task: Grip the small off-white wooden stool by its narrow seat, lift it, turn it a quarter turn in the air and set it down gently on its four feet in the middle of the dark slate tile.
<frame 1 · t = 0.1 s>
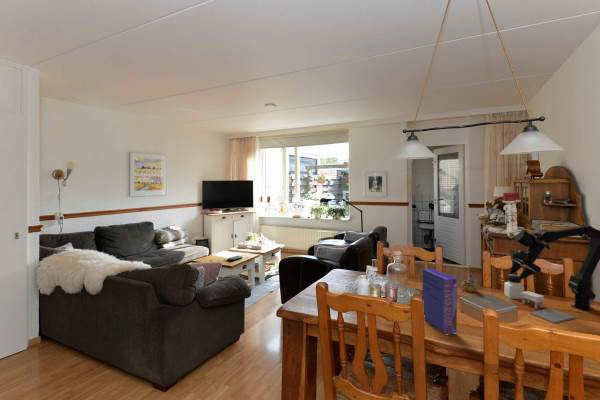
hand: (514, 276, 163), 15 cm above the table, tool tilted 30°, fingers open, 9 cm apart
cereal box: (438, 326, 142), on the table
stool: (532, 305, 163), on the table
ornament: (469, 291, 185), on the table
tile: (551, 315, 150), on the table
medicine bottle: (513, 297, 175), on the table
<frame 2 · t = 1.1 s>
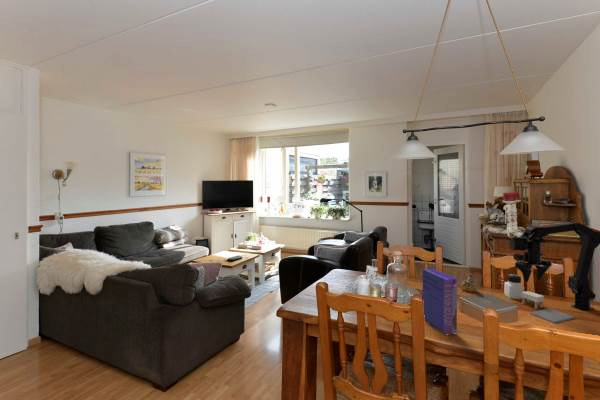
hand: (532, 280, 162), 13 cm above the table, tool pointing down, fingers open, 9 cm apart
nothing on the table moved.
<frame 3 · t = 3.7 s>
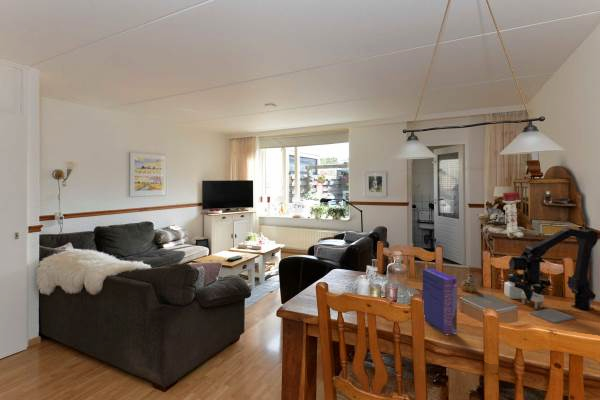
hand: (532, 300, 162), 3 cm above the table, tool pointing down, fingers closed on stool, 5 cm apart
stool: (532, 305, 163), on the table, touching gripper
everything else where it was.
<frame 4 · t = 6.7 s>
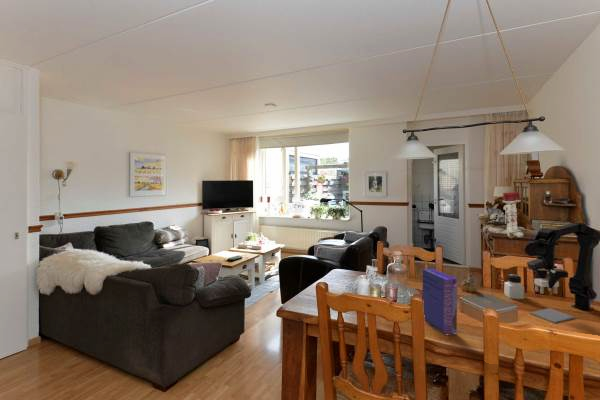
hand: (546, 286, 153), 13 cm above the table, tool pointing down, fingers closed on stool, 5 cm apart
stool: (546, 292, 153), point 10 cm above the table, touching gripper
everything else where it was.
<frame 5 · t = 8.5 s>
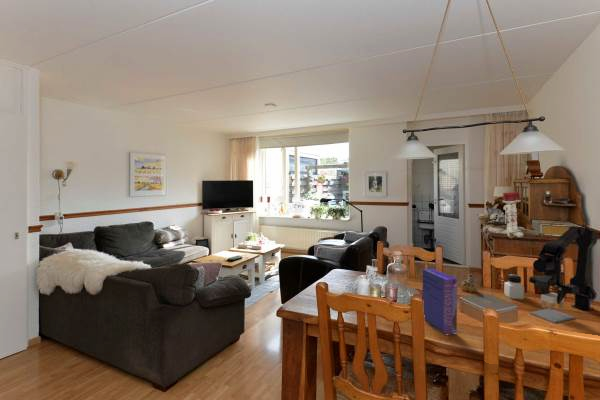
hand: (552, 301, 150), 7 cm above the table, tool pointing down, fingers closed on stool, 5 cm apart
stool: (552, 307, 150), point 4 cm above the table, touching gripper
everything else where it was.
when the fingers open (5 cm above the table, at t = 9.8 s): stool drops 1 cm, resting on tile.
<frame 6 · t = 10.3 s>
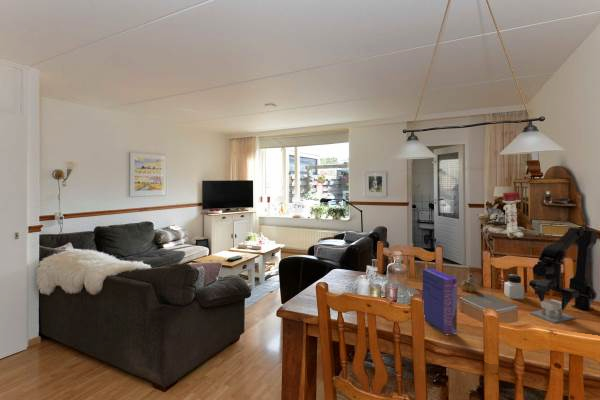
hand: (552, 305, 150), 5 cm above the table, tool pointing down, fingers open, 9 cm apart
stool: (551, 314, 150), point 1 cm above the table, touching tile
everything else where it was.
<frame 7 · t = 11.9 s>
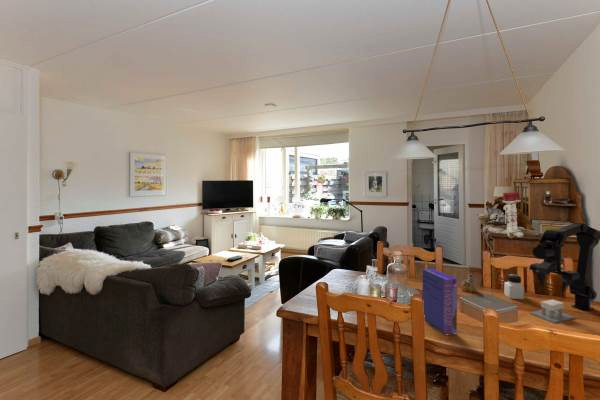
hand: (552, 288, 150), 13 cm above the table, tool pointing down, fingers open, 9 cm apart
nothing on the table moved.
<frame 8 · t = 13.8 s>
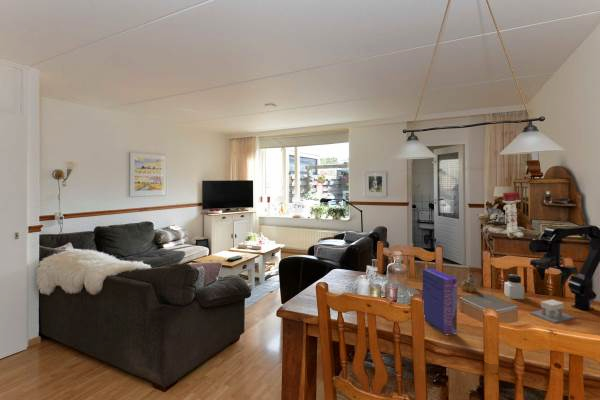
hand: (552, 283, 158), 13 cm above the table, tool pointing down, fingers open, 9 cm apart
nothing on the table moved.
at the end: stool inside the target area on the tile (0.0 cm from its centre), point 0.6 cm above the tile's base; stool tilted 0°; the gripper is holding nothing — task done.
